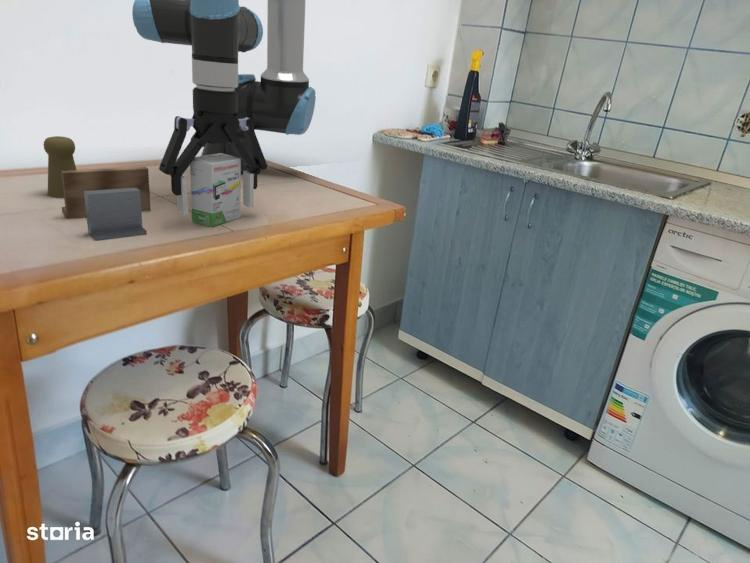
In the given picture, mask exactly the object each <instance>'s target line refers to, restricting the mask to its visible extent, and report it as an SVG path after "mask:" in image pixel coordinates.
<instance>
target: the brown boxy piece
mask: <svg viewBox="0 0 750 563" xmlns="http://www.w3.org/2000/svg"><path fill="white" fill-rule="evenodd" d="M61 176H62V185H63V193H64V198H63V200H64V206H61V212H62V213H64V215H65V216H66V218H68V219H76V218H77V219H78V218H87V216H86V206H85V197H84V191H94V190H109V189H123V188H137V189H138V190H140V198H141V212H148V211H149V212H150V211H151V210H152V209H151V192H150V177H149V168H147V167H146V166H139V167H117V168H112V167H111V168H94V169H93V168H91V169H77V170H69V171H61Z"/></svg>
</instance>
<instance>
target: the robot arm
mask: <svg viewBox="0 0 750 563" xmlns="http://www.w3.org/2000/svg"><path fill="white" fill-rule="evenodd" d="M239 1H240V0H134V1H133V5H132V11H131V12H132V13H131V14H132V21H133V24H134V27H135V29H136V32H137V33H138V35H139V36H140V37H141V38H142V39H144V40H148V41H152V42H158V43H162V44H172V45H182V46H191V73H192V76H191V77H192V83H193V84H194V85H195V87H193V89H192V109H193V115H192V117H191V118H189V117H188V118H187V117H186V118H185V117H183V116H178V115H177V116H175V117H174V123H173V128H174V129H173V132H172V134H171V137H170V139H169V142H168V145H167V146H166V149H165V152H164V154H163V156H162V159H161V161H160V165H159V167H158V170H159V171H160V172H161V173H163V174H165V175H167V176H170V182H171V183H170V184H171V192H172V194H173V195H174V196H176V204H177V206H176V207H177V212H179V213H180V214H182V215H188V188H187V186H188V185H187V182H188V181H187V177H186V176H184V173H185V172H186V170H187V169H188V168H189V167H190V163H191V162H192V161H193V159H194V158H195V157H197V155H198V153H200V151H201V150H202V151H201V155H200V156H205V155H211V154H218V153H223V154H227V155H230V156H234V157H237V158H241V175H242V174H243V177H242V185H243V186H242V187H243V188H242V195H243V196H242V204H243V205H244V206H246V207H247V208H249V209H250V208H254V190H257V188H258V175H260V174H261V172H262V170H266V169H267V168H268V163H267V161H266V158H265V155H264V152H263V149H262V148H261V144H260V142H259V140H258V138H257V135H256V132H255V131H265V132H272V133H278V134H285V135H287V136H288V135H295V136H296V135H297V136H300V135H303V134H305V133H306V132H307V131H308V129H309V127H310V125H311V122H312V119H313V116H314V113H315V107H316V90H315V88H313V87H312V86H309V85H310V84H309V83H310V78H309V77H308V75H306V74H305V72H304V54H305V53H304V51H305V24H306V22H305V21H306V0H267V21H266V22H267V23H266V24H267V27H266V28H267V31H266V32H267V34H266V35H267V38H266V39H267V40H266V41H267V44H266V47H267V48H266V51H267V52H266V55H267V56H266V57H267V60H266V68H265V69H264V71H263V72H261V73H260V81H259V80H257V79H256V76H255V74H253V73H247V74H246V73H244V74H242V73H240V74H239V52H241V53H247V52H250V51H252V50H254V49H256V48H257V47H258V46H259V45H260V44H261V42H262V39H263V36H264V28H263V23H262V21H261V19H260V17H259V16H258V14H256V13H255V12H254V11H253V10H251V9H250V8H248V7H247V6H240V4H239V3H240V2H239ZM191 127H192V128H193V129H194V131H195V132H194V133H193V135H192V136H191V138H190V141H189V143H187V145H186V147H185V148H184V149H183V151H182V152H181V149H182V147H183V144H184V143H185V142H184V141H185V139H186V138H187V133H188V132H189V131H190V129H191ZM180 152H181V154H180ZM179 154H180V155H179Z"/></svg>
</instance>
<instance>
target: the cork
mask: <svg viewBox="0 0 750 563" xmlns="http://www.w3.org/2000/svg"><path fill="white" fill-rule="evenodd" d="M75 144H76V143H75V142H74V141H73V139H71V138H70V137H66V136H58V135H57V136H56V135H55V136H50V137H47V138H45V139H44V141H43V149H44V151H45V153H46V154H47V155H48V156H47V157H48V158H47V159H48V160H47V196H48V197H51V198H56V199H64V193H63V185H62V176H61V171H69V170H78V169H77V166H76V163H75V162H76V161H75V159H74V154H75V151H76V145H75Z"/></svg>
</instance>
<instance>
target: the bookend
mask: <svg viewBox="0 0 750 563" xmlns="http://www.w3.org/2000/svg"><path fill="white" fill-rule="evenodd" d="M84 197H85V206H86V216H87V217H86V222H87V232H88V234H89V235H90V236H91V238H92V239H93V240H94V241H101V240H102V241H103V240H109V239H110V240H111V239H119V238H128V237H136V236H143V235H147V233H148V231H147V230H146V229H145V228H144V227H143V216H142V211H141V198H140V190H138V189H137V188H123V189H109V190H94V191H84Z"/></svg>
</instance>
